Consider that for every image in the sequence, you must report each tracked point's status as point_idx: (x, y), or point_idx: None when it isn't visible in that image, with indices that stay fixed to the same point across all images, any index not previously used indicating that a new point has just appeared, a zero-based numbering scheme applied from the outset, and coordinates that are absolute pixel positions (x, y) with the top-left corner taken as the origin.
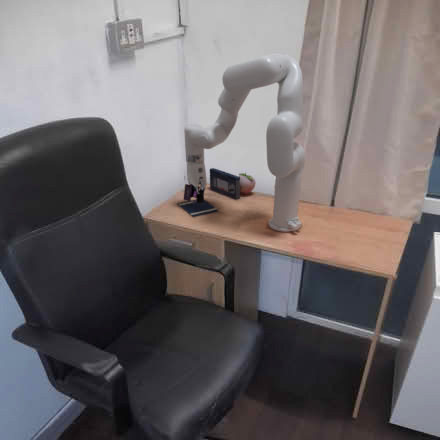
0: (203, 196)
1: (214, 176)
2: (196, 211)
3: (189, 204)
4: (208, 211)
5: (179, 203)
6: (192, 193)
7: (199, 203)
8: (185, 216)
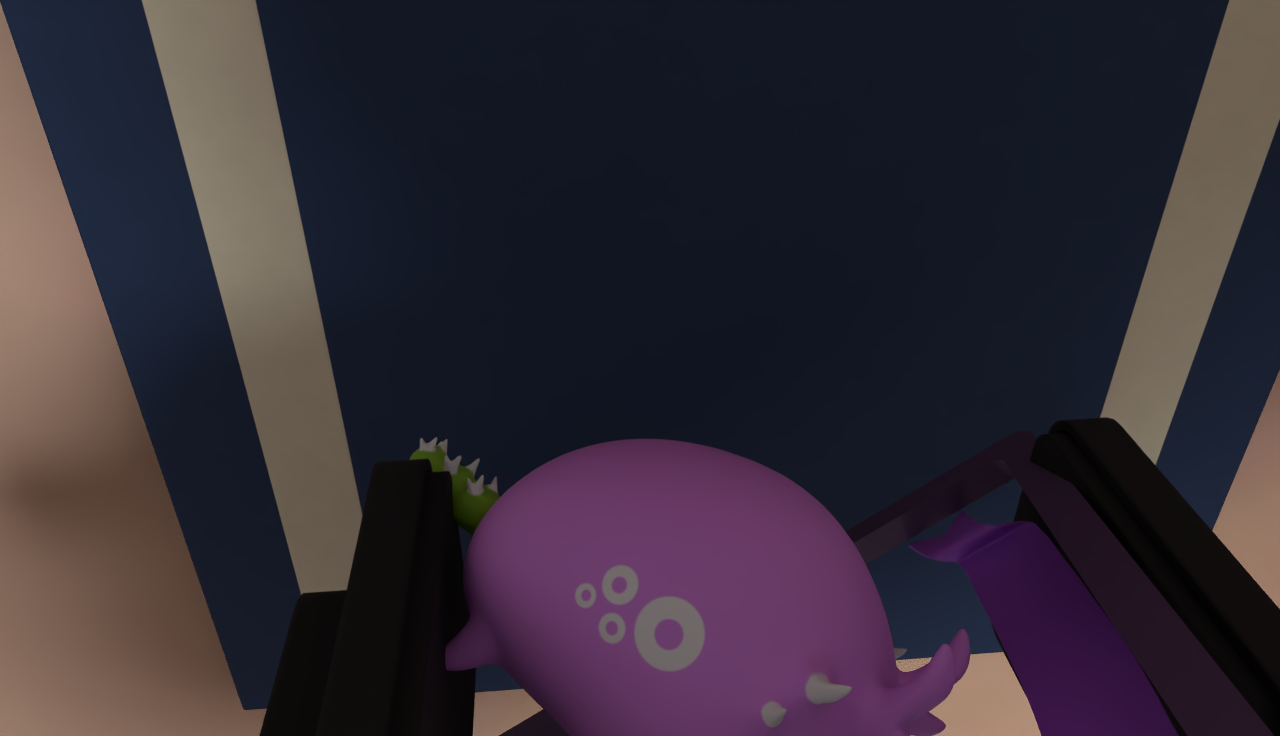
0: (1229, 577)
1: None
2: (1009, 512)
3: None
4: (1262, 251)
5: (273, 683)
6: (461, 734)
7: (514, 242)
8: (1012, 720)
